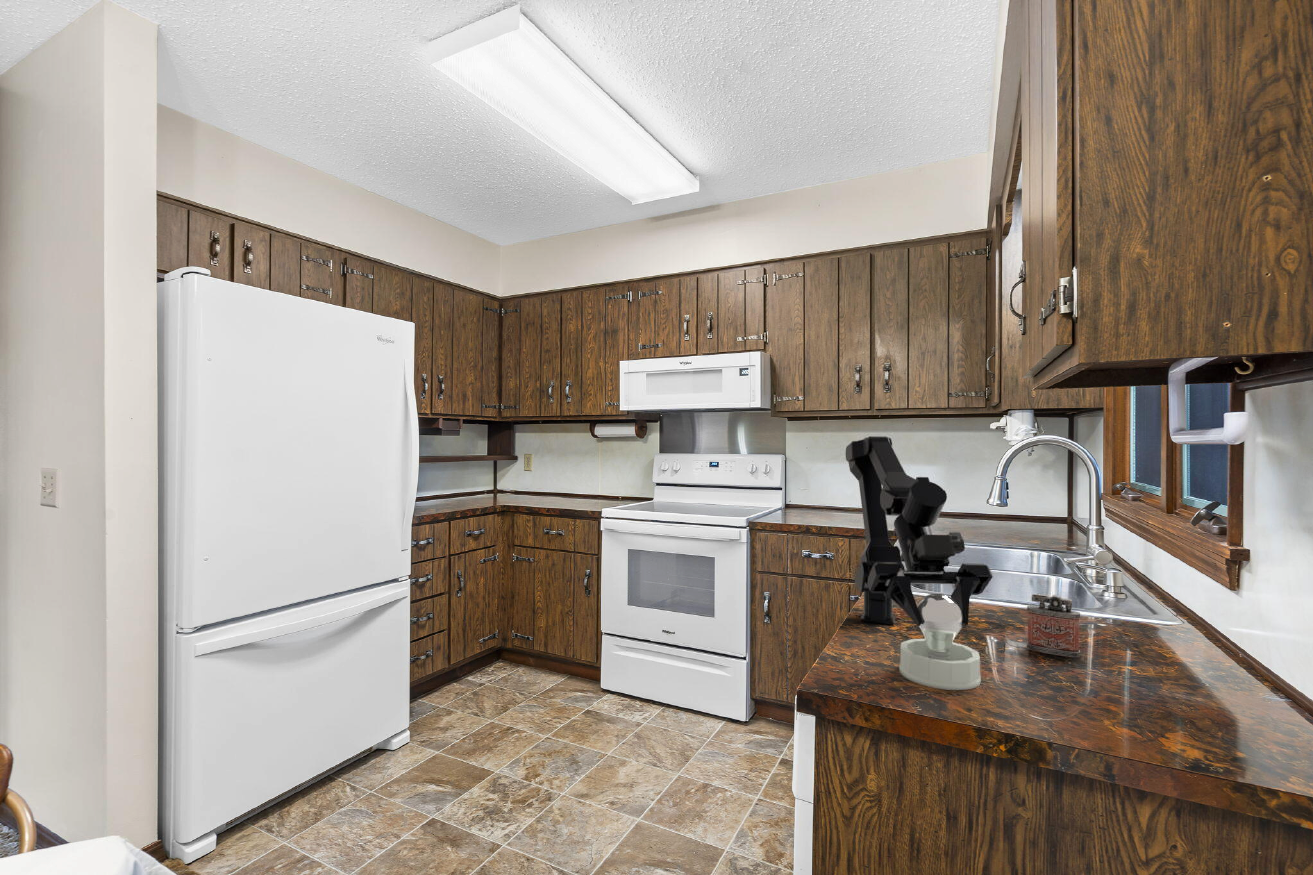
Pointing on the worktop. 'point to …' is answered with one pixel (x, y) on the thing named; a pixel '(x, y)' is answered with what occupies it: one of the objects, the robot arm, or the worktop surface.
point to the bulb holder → (940, 666)
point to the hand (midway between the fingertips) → (942, 625)
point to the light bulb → (939, 624)
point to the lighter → (1053, 626)
